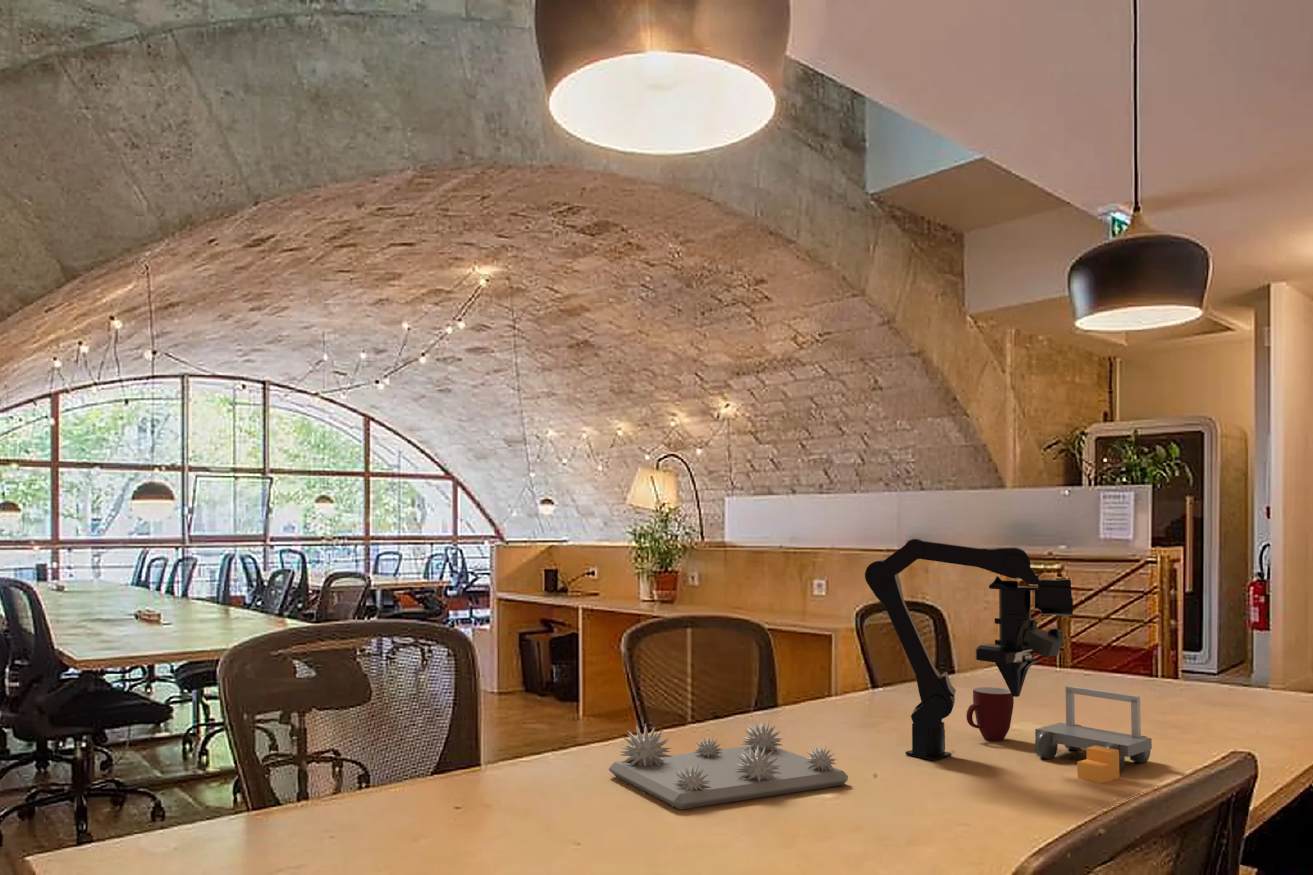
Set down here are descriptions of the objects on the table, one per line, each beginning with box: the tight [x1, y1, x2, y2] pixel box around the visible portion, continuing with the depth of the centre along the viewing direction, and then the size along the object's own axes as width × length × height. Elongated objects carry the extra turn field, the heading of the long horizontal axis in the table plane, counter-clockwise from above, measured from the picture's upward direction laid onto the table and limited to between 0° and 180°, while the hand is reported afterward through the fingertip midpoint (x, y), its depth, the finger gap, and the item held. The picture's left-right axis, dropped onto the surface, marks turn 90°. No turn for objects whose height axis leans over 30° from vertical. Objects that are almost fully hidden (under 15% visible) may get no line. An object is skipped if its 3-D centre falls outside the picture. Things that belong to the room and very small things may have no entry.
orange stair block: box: [1076, 745, 1120, 784], centre depth 184 cm, size 6×4×5 cm
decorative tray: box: [608, 719, 849, 810], centre depth 180 cm, size 35×26×10 cm
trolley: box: [1034, 685, 1152, 773], centre depth 197 cm, size 16×18×13 cm
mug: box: [965, 686, 1015, 742], centre depth 214 cm, size 10×8×10 cm
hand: (1015, 696), depth 194 cm, fingers closed
